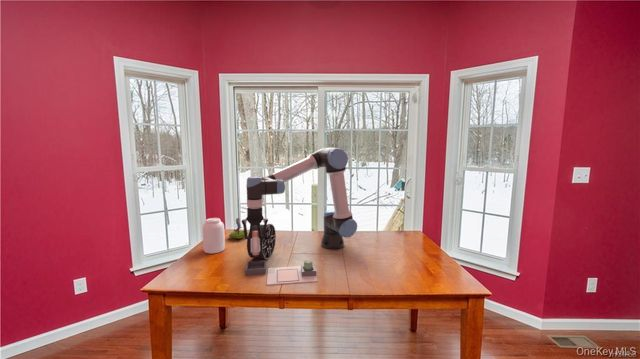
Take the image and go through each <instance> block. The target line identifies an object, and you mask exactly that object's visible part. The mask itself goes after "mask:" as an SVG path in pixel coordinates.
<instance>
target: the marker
mask: <svg viewBox="0 0 640 359" xmlns="http://www.w3.org/2000/svg"><path fill="white" fill-rule="evenodd" d="M258 236H259V233H258V231H252V254H253V255H258V254H259V252H258V239H259V237H258Z"/></svg>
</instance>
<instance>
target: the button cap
mask: <svg viewBox="0 0 640 359" xmlns="http://www.w3.org/2000/svg"><path fill="white" fill-rule="evenodd" d="M313 265H314V262H313V261H312V260H304V261H303V266H304V271H310V270H313Z"/></svg>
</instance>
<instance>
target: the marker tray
mask: <svg viewBox="0 0 640 359" xmlns="http://www.w3.org/2000/svg"><path fill="white" fill-rule="evenodd" d="M244 271H245V274H244V276H256V275H266V273H267V259H264V260H253V261H251V260H250V261H247V262H246V266H245V270H244Z"/></svg>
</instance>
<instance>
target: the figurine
mask: <svg viewBox="0 0 640 359" xmlns="http://www.w3.org/2000/svg"><path fill="white" fill-rule="evenodd" d="M235 223H236V225H237V228H236V229H233V231H234V232H233V231H232V232H230V233H229V235H228V237H230V238H231V239H232V238H234V239H235V240H236V239H237V240H239V239H242V238H245V237H244V230H240V229H242V227H241V223H240V217H239V218H237V217H236V219H235ZM248 234H249V232H247V235H248Z"/></svg>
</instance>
